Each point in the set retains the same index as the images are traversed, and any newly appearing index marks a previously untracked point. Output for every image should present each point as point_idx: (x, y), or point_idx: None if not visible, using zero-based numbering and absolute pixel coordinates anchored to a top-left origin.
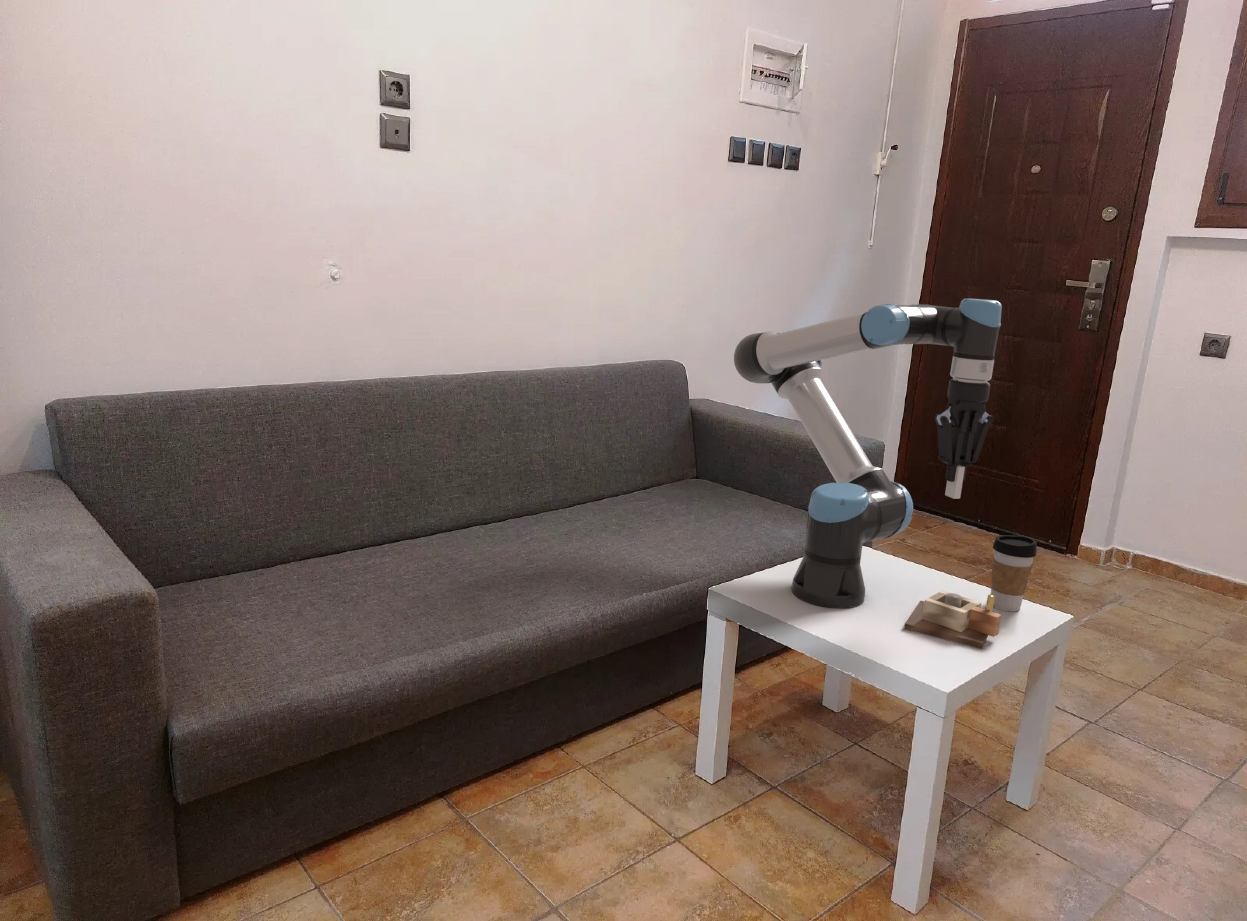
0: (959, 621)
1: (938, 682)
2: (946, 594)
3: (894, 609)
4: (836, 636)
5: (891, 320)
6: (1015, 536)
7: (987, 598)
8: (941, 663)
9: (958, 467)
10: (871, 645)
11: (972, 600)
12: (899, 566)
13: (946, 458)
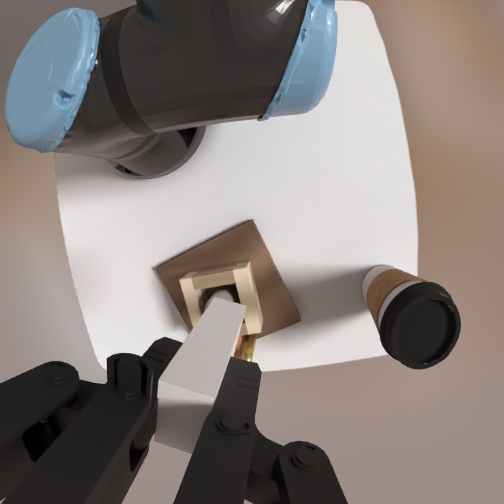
0: None
1: (106, 360)
2: (211, 299)
3: (201, 210)
4: (76, 238)
5: None
6: (453, 313)
7: (242, 356)
8: (134, 344)
9: (156, 436)
10: (94, 276)
11: (254, 320)
12: (373, 87)
13: (43, 425)
